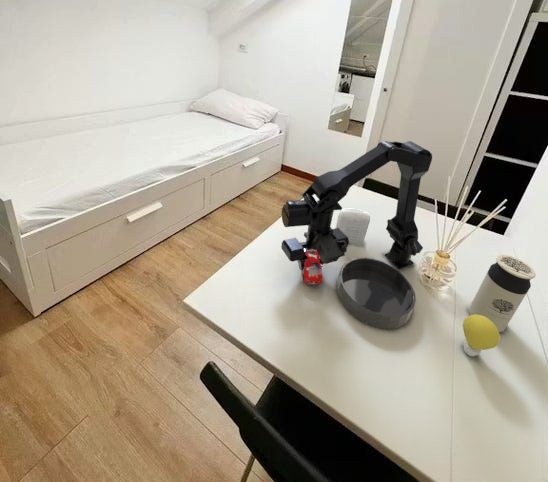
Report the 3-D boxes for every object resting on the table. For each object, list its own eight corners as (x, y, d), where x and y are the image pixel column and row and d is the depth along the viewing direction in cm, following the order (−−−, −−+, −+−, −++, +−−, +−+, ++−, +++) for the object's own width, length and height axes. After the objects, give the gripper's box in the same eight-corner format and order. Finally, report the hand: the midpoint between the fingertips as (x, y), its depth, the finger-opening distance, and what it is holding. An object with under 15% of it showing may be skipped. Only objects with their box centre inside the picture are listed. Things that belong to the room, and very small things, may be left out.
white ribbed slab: (362, 238, 101) (370, 208, 96) (364, 246, 97) (373, 215, 92) (332, 234, 101) (339, 203, 96) (333, 242, 97) (340, 211, 93)
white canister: (470, 300, 81) (496, 248, 73) (505, 318, 76) (536, 265, 69) (466, 318, 75) (494, 265, 68) (503, 339, 70) (537, 284, 63)
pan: (375, 262, 90) (378, 251, 89) (427, 314, 75) (432, 302, 73) (323, 278, 82) (326, 266, 81) (369, 340, 67) (374, 327, 65)
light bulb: (487, 373, 62) (506, 342, 59) (452, 354, 66) (468, 324, 62) (485, 348, 68) (503, 318, 64) (453, 331, 71) (468, 302, 67)
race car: (322, 289, 78) (325, 278, 76) (302, 286, 78) (304, 275, 76) (318, 254, 90) (320, 244, 88) (301, 251, 90) (303, 241, 88)
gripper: (304, 249, 67) (296, 298, 73) (367, 233, 74) (355, 279, 81) (283, 221, 76) (277, 266, 82) (341, 209, 84) (332, 252, 90)
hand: (311, 266), depth 83 cm, fingers closed on race car, 6 cm apart
